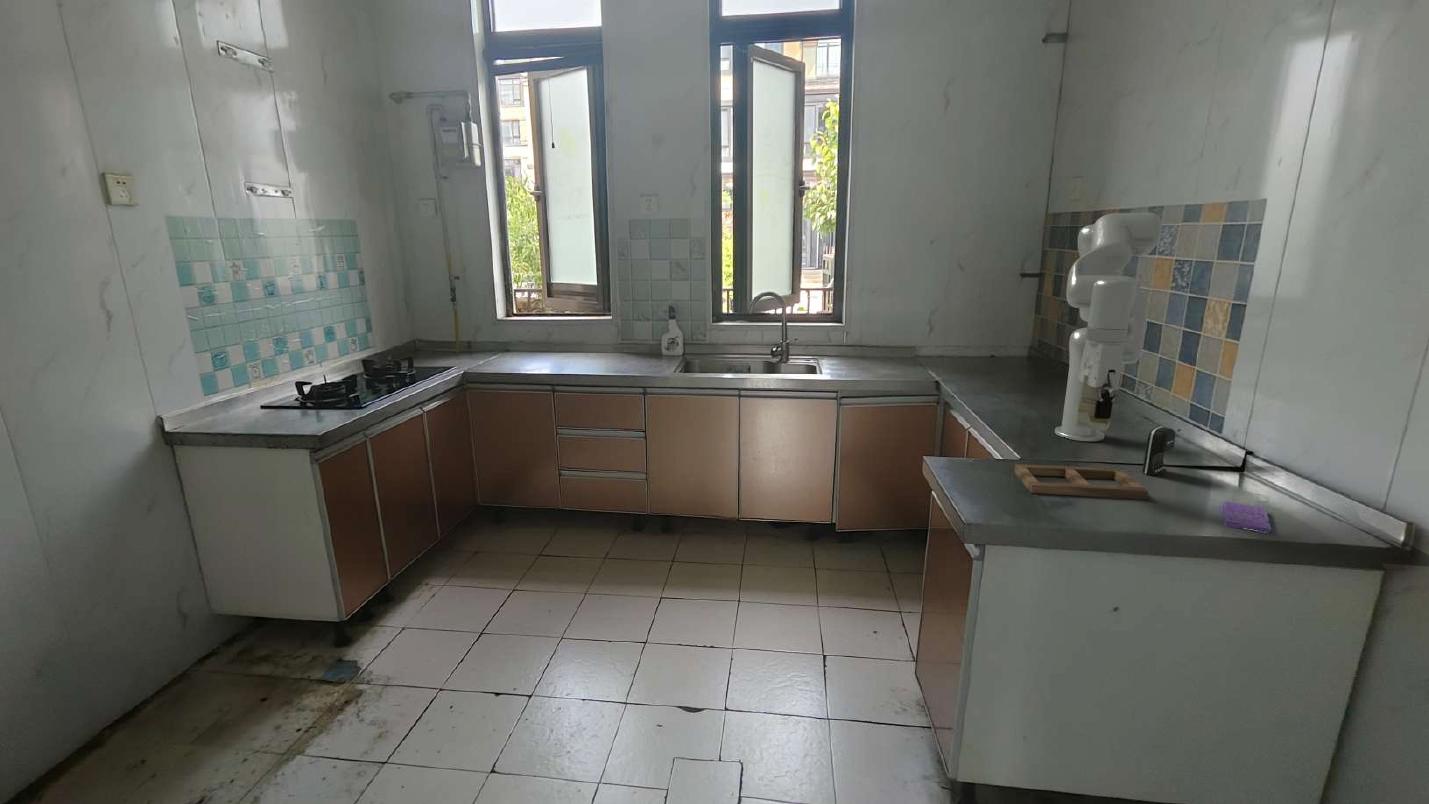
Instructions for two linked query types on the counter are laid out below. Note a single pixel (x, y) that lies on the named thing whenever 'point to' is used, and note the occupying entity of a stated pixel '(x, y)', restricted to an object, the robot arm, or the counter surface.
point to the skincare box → (1090, 408)
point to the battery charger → (1157, 449)
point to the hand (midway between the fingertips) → (1094, 413)
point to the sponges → (1246, 516)
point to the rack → (1079, 481)
